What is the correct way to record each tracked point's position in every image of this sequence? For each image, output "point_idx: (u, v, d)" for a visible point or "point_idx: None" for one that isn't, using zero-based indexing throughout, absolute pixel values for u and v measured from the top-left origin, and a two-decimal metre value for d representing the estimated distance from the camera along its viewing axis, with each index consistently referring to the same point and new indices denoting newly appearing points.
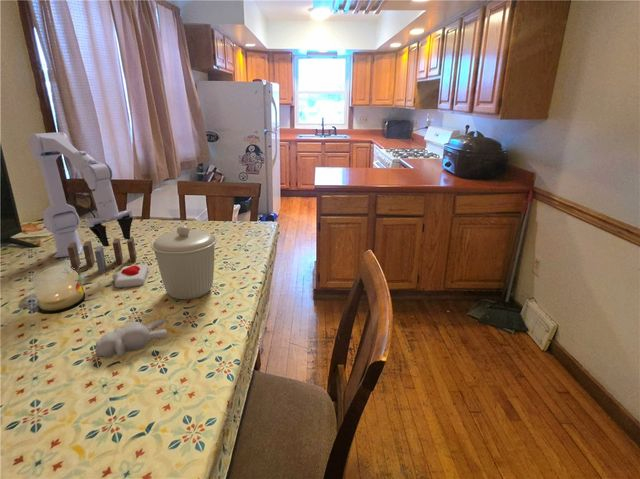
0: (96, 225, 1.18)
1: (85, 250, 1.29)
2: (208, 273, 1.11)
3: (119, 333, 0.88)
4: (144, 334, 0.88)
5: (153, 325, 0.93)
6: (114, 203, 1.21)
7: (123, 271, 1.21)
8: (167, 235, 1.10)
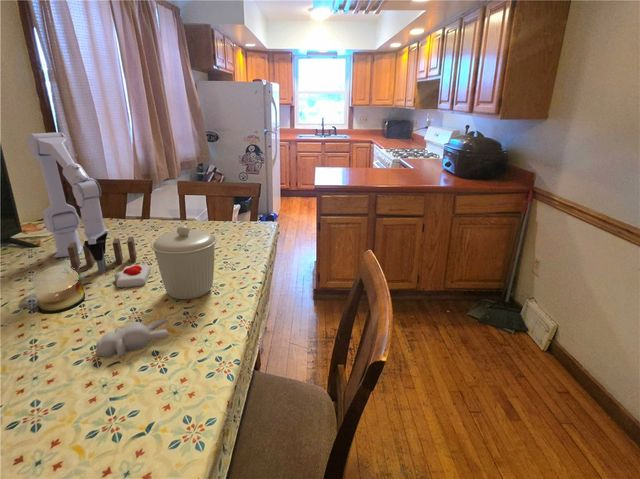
0: (96, 241, 1.20)
1: (85, 250, 1.29)
2: (208, 273, 1.11)
3: (120, 333, 0.88)
4: (144, 333, 0.88)
5: (154, 325, 0.93)
6: None
7: (125, 271, 1.21)
8: (167, 235, 1.10)
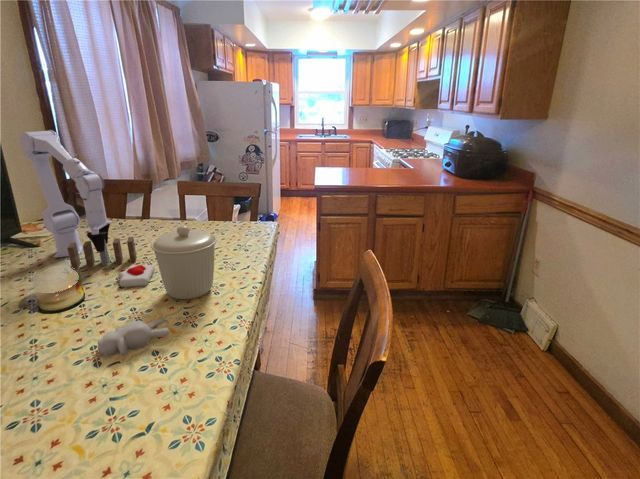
0: (99, 232, 1.25)
1: (85, 250, 1.29)
2: (208, 273, 1.11)
3: (121, 332, 0.89)
4: (145, 332, 0.89)
5: (154, 323, 0.93)
6: None
7: (129, 270, 1.22)
8: (167, 235, 1.10)
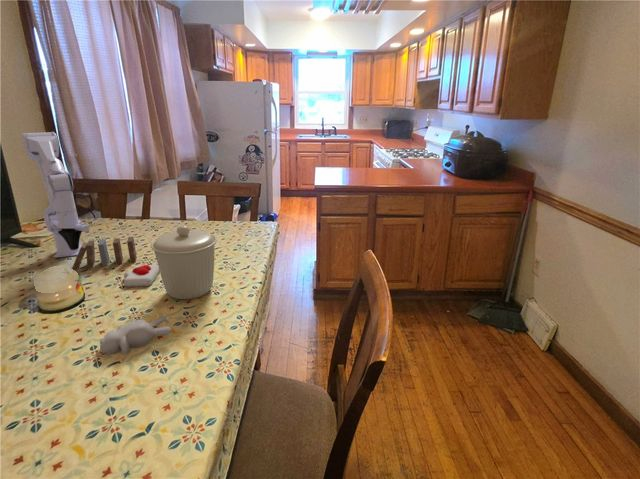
0: None
1: (88, 249, 1.29)
2: (208, 273, 1.11)
3: (123, 330, 0.89)
4: (147, 331, 0.90)
5: (156, 322, 0.94)
6: None
7: (134, 270, 1.22)
8: (167, 235, 1.10)
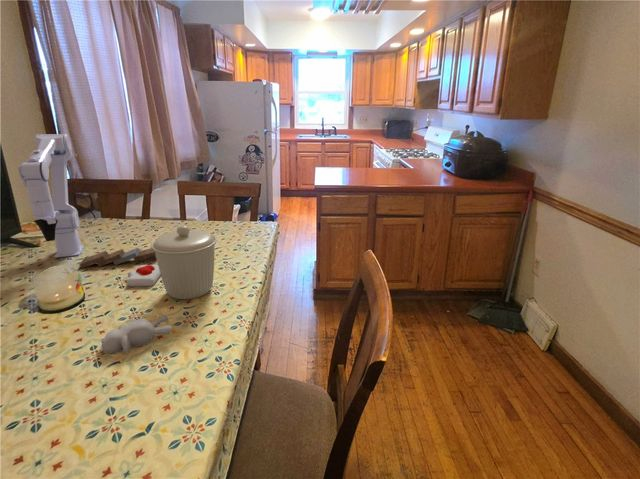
0: None
1: (115, 257, 1.32)
2: (208, 273, 1.11)
3: (125, 330, 0.89)
4: (149, 330, 0.90)
5: (157, 321, 0.94)
6: None
7: (137, 270, 1.22)
8: (167, 235, 1.10)
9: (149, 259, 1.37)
